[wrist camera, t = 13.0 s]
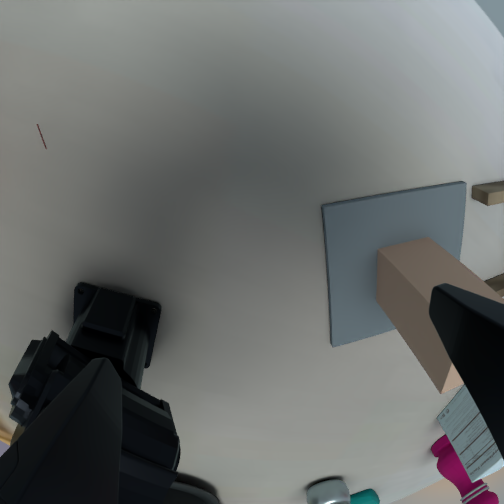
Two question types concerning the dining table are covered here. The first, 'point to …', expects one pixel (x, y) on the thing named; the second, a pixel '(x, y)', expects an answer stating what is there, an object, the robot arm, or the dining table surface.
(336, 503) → the plastic bottle
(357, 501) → the spray bottle
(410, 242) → the peach block
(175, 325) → the dining table surface
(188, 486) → the casserole
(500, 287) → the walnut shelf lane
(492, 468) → the supplement box
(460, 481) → the pepper mill
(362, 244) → the slate rubber mat
